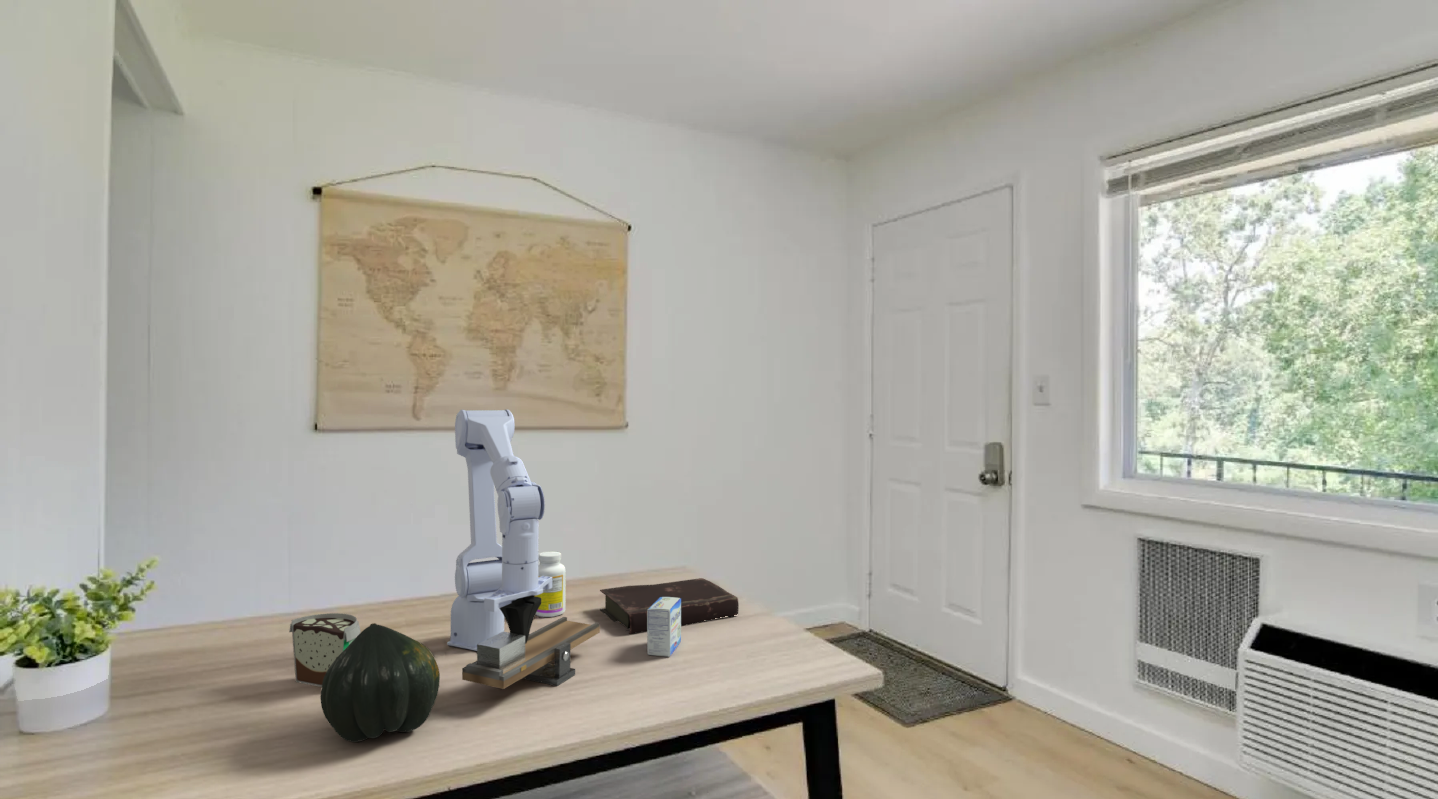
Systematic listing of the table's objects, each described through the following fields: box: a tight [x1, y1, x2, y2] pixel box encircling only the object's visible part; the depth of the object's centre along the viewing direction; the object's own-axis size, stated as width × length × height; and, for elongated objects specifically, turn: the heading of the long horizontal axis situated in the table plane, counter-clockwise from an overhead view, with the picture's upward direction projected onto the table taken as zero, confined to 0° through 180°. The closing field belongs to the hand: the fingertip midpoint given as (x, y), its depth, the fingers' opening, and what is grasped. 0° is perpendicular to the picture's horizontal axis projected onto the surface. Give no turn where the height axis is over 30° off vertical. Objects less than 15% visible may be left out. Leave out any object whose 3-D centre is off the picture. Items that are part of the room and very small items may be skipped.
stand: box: [521, 643, 576, 687], centre depth 118 cm, size 12×5×6 cm, turn 67°
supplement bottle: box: [534, 550, 567, 618], centre depth 150 cm, size 7×7×13 cm
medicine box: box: [646, 597, 682, 658], centre depth 130 cm, size 8×4×9 cm, turn 168°
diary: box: [599, 577, 740, 635], centre depth 152 cm, size 19×25×5 cm
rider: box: [476, 631, 525, 672], centre depth 110 cm, size 4×6×4 cm
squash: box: [319, 622, 441, 743], centre depth 99 cm, size 14×15×15 cm
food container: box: [288, 612, 362, 688], centre depth 115 cm, size 12×6×10 cm, turn 71°
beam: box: [461, 616, 601, 690], centre depth 118 cm, size 8×26×2 cm, turn 157°
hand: (519, 643), depth 114 cm, fingers closed
